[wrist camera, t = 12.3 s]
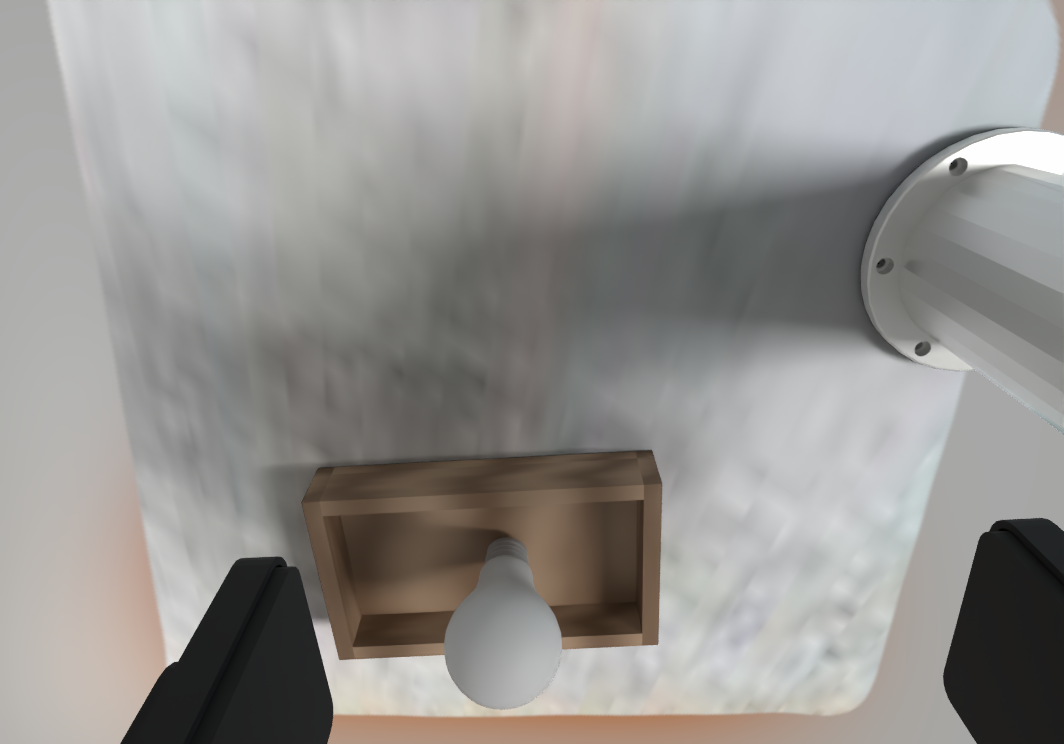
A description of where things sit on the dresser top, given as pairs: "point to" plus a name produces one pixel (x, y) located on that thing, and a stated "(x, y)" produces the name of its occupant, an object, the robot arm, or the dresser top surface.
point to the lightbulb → (503, 633)
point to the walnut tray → (467, 531)
